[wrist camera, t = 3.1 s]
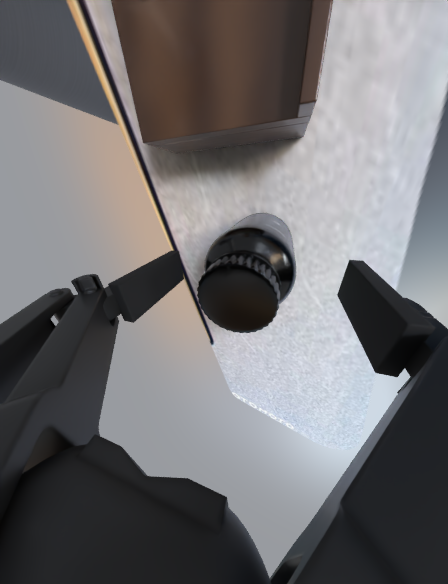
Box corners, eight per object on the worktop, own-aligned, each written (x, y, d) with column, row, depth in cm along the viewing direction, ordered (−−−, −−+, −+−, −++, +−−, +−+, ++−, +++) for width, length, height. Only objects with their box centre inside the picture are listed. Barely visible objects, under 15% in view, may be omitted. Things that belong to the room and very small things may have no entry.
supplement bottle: (306, 243, 18) (332, 310, 8) (259, 282, 22) (239, 358, 12) (260, 196, 17) (227, 207, 7) (220, 245, 21) (163, 296, 11)
